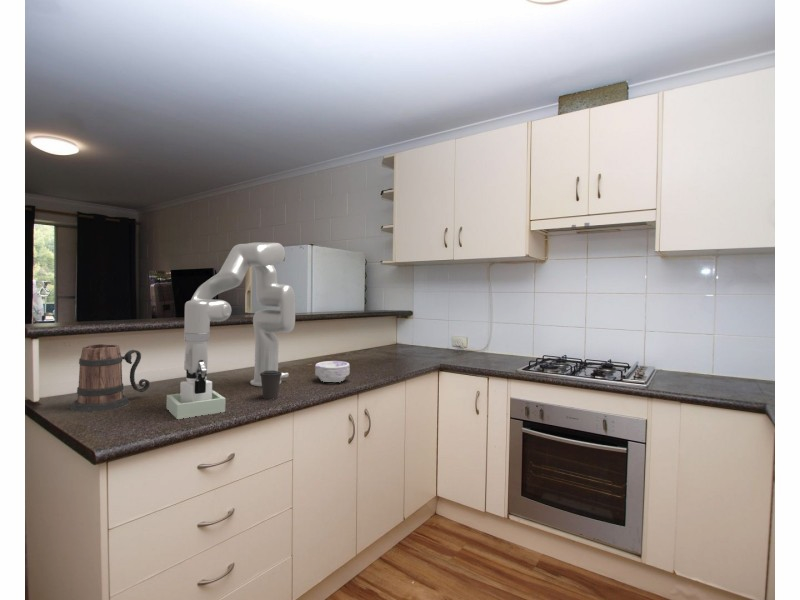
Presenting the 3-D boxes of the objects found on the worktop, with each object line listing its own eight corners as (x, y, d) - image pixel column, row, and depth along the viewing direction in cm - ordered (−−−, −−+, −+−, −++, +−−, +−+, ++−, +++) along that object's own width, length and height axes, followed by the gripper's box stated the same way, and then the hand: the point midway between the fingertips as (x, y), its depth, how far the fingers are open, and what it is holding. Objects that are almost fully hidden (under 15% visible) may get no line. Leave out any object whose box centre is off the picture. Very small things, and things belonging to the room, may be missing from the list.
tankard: (79, 415, 133) (79, 351, 133) (62, 405, 143) (62, 345, 143) (158, 401, 152) (159, 344, 151) (138, 392, 162) (139, 340, 161)
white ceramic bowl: (307, 382, 188) (308, 364, 188) (328, 376, 202) (329, 359, 202) (335, 386, 181) (336, 368, 181) (355, 380, 195) (356, 362, 195)
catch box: (211, 402, 152) (211, 389, 152) (225, 411, 141) (225, 398, 141) (166, 408, 143) (166, 395, 143) (177, 419, 132) (177, 405, 132)
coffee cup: (258, 395, 163) (258, 369, 162) (280, 394, 166) (280, 368, 165) (260, 401, 155) (260, 374, 155) (283, 399, 158) (283, 372, 158)
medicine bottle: (212, 402, 143) (212, 366, 143) (192, 407, 137) (192, 369, 137) (200, 398, 147) (200, 364, 147) (179, 403, 141) (180, 367, 141)
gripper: (177, 335, 146) (177, 386, 146) (192, 341, 132) (191, 397, 133) (201, 334, 151) (200, 383, 151) (217, 340, 137) (216, 394, 138)
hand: (196, 390), depth 142 cm, fingers closed on medicine bottle, 8 cm apart
